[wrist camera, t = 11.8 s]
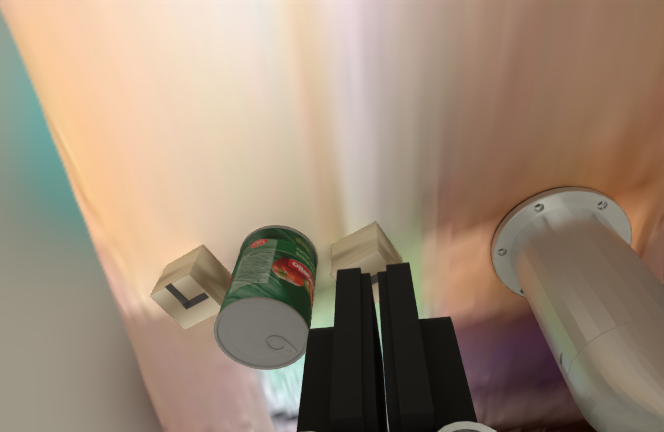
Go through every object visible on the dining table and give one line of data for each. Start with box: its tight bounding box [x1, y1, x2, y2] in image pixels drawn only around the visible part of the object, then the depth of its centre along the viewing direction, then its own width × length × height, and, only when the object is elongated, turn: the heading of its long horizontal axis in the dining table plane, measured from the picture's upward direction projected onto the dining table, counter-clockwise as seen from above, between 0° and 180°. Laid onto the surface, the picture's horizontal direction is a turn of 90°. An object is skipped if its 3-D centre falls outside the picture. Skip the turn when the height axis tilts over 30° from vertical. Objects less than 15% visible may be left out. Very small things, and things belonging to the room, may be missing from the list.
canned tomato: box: [214, 226, 318, 370], centre depth 44 cm, size 8×8×11 cm
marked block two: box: [150, 245, 232, 329], centre depth 48 cm, size 5×5×5 cm
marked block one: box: [330, 221, 402, 303], centre depth 46 cm, size 5×5×5 cm
